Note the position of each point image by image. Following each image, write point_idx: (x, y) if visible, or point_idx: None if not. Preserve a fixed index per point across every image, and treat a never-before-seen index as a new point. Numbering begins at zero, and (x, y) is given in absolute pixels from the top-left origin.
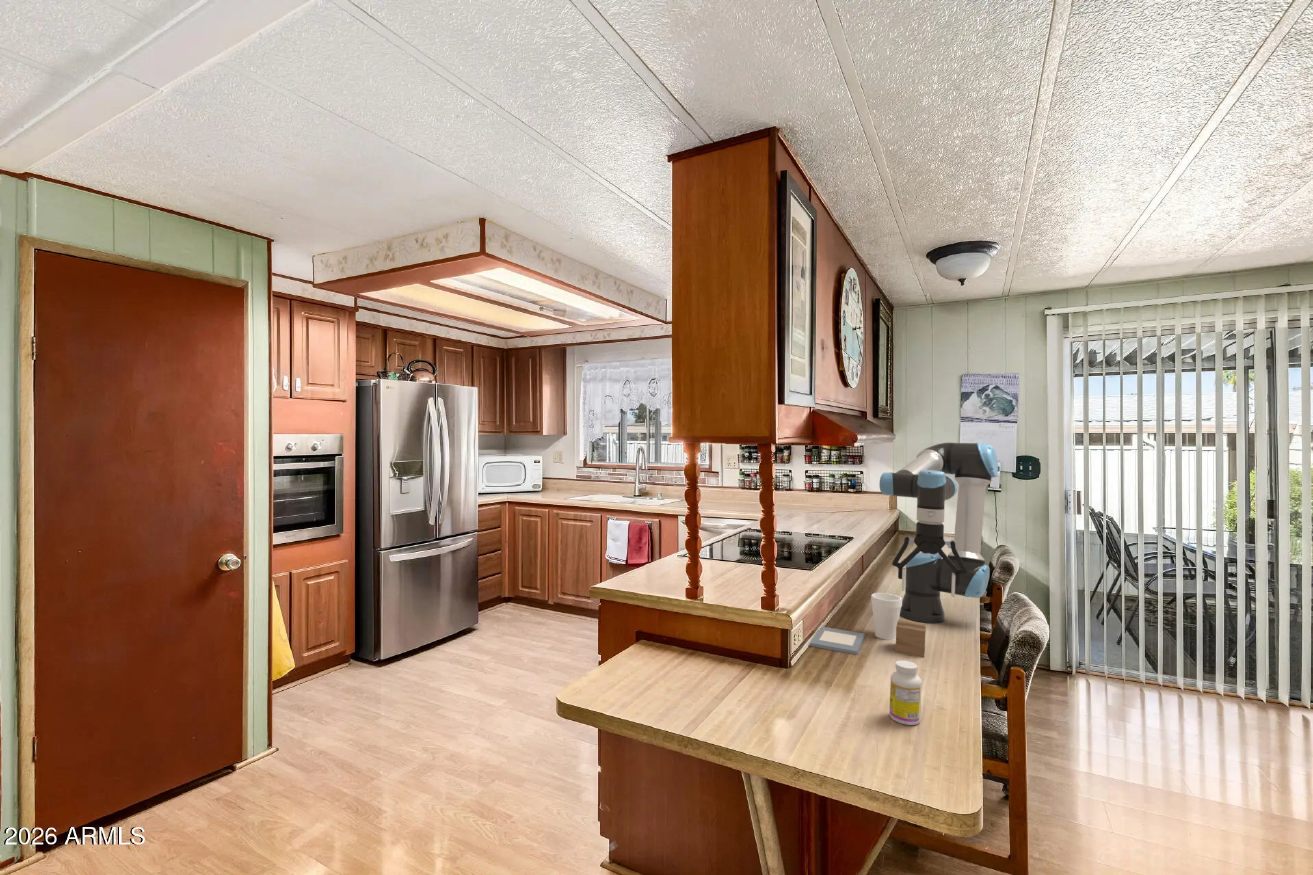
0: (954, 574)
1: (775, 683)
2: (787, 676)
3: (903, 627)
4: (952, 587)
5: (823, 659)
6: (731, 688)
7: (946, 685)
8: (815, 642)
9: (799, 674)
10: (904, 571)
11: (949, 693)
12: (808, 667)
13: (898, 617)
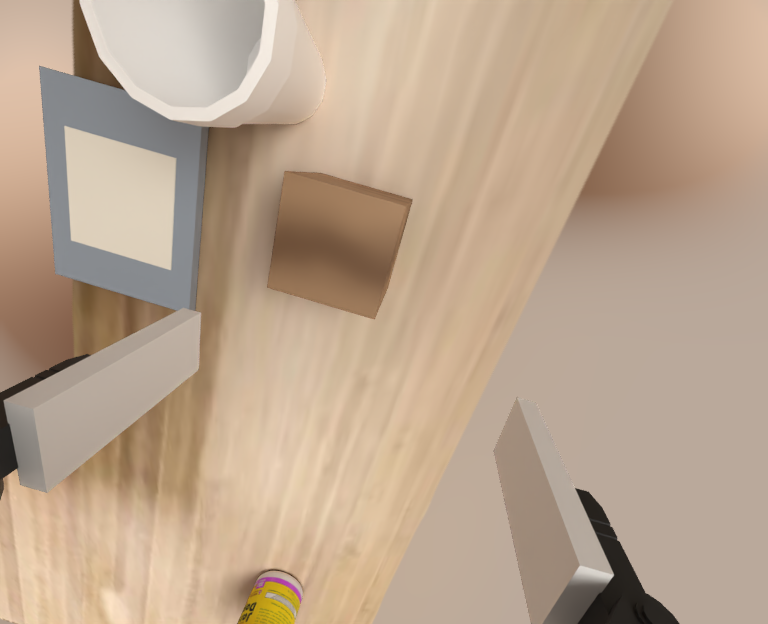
0: (571, 619)
1: (63, 492)
2: None
3: (294, 292)
4: (509, 508)
5: None
6: (8, 516)
7: (393, 462)
8: (68, 266)
9: None
10: (63, 473)
11: (387, 497)
12: None
13: (299, 87)
